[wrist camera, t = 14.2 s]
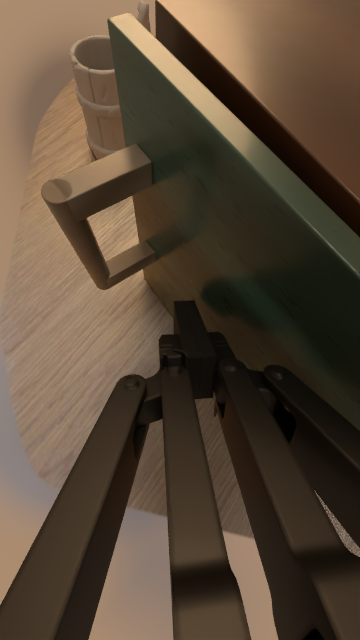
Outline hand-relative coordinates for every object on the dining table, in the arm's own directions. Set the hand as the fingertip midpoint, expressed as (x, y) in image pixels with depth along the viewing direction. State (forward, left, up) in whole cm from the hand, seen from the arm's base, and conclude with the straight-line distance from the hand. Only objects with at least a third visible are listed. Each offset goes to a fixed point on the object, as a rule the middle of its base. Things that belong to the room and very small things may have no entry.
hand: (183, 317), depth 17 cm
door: (-1, -3, -9) cm, 9 cm away
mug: (+11, +28, -9) cm, 31 cm away
